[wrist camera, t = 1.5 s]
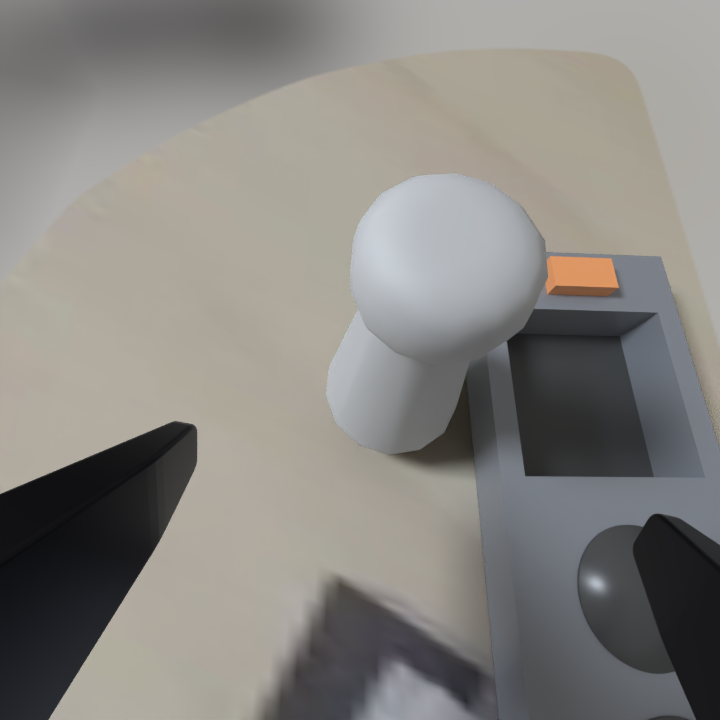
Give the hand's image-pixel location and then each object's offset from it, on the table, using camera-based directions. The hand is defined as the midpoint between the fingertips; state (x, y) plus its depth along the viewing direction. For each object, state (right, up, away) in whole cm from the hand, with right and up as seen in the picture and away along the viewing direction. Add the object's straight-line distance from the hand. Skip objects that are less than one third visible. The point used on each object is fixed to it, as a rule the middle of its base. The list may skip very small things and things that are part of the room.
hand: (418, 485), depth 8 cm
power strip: (+9, -8, +10) cm, 15 cm away
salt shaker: (0, 0, +12) cm, 12 cm away
